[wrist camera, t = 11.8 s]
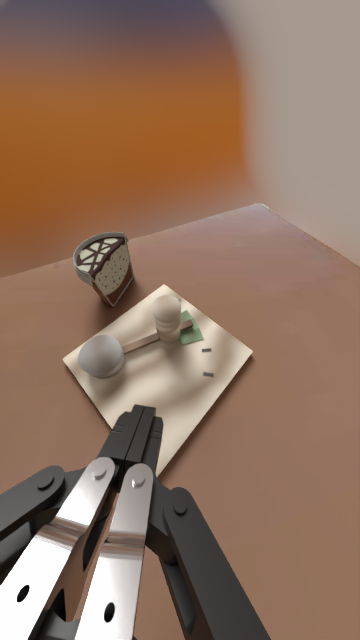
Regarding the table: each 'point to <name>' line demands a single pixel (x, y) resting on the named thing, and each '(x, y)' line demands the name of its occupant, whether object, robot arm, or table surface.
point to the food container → (105, 265)
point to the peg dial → (109, 356)
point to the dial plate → (165, 371)
